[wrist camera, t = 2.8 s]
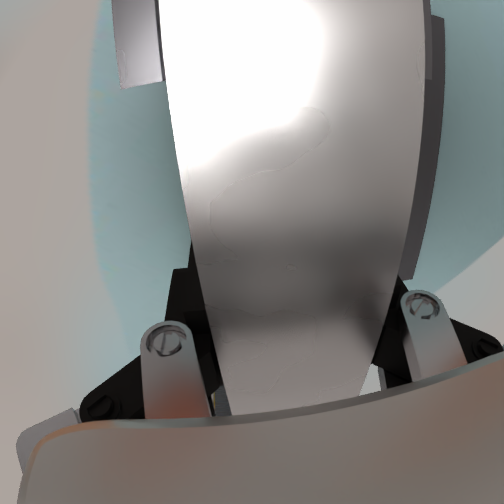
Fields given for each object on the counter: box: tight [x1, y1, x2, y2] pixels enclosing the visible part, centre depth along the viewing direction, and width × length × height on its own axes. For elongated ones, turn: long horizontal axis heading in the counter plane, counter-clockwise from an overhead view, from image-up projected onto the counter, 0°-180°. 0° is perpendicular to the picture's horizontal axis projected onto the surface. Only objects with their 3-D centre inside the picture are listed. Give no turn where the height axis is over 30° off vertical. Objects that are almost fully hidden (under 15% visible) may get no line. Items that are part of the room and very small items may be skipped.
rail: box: [159, 0, 425, 415], centre depth 9 cm, size 4×22×4 cm, turn 4°
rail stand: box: [112, 0, 432, 417], centre depth 14 cm, size 8×22×14 cm, turn 4°
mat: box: [398, 15, 445, 281], centre depth 20 cm, size 10×22×1 cm, turn 4°
